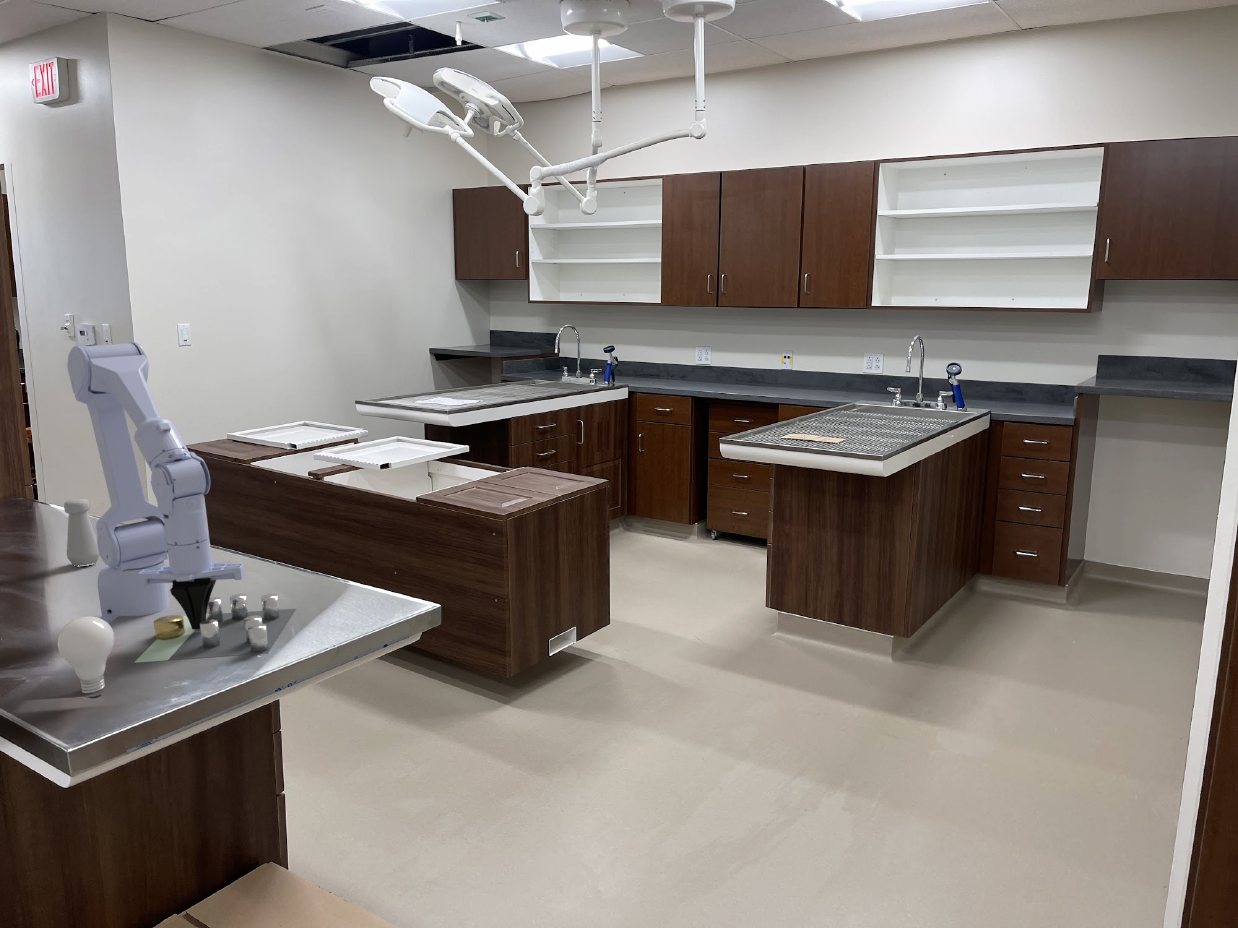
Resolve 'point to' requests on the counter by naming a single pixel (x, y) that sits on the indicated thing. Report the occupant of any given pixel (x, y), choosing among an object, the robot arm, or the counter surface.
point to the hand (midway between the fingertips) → (198, 626)
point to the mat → (229, 639)
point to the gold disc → (169, 627)
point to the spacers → (239, 611)
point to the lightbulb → (87, 650)
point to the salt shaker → (80, 533)
